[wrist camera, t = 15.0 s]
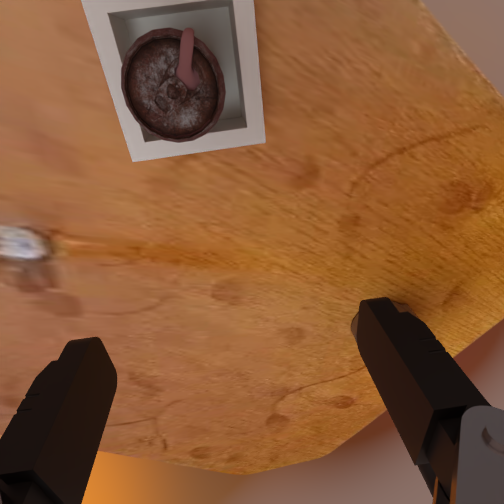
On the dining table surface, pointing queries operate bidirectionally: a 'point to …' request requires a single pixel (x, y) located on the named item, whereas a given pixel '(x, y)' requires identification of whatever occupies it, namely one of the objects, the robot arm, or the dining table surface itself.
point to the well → (216, 39)
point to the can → (173, 84)
